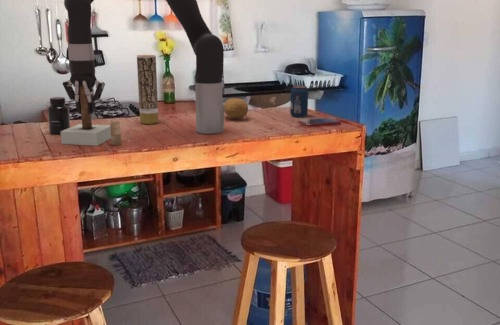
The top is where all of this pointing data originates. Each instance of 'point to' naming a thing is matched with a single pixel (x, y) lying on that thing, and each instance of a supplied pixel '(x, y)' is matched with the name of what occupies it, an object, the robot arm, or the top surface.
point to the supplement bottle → (58, 115)
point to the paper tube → (147, 88)
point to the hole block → (86, 135)
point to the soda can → (299, 101)
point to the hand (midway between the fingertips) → (86, 113)
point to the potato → (235, 108)
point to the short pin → (115, 133)
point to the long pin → (84, 110)
